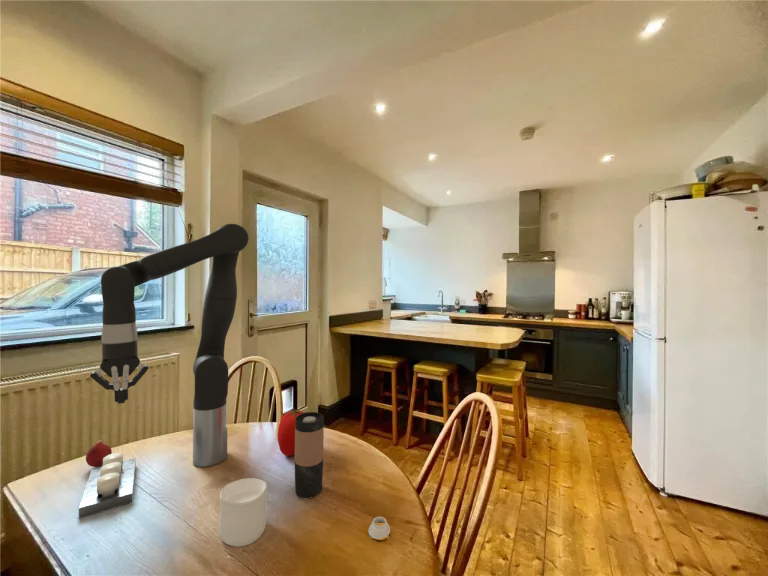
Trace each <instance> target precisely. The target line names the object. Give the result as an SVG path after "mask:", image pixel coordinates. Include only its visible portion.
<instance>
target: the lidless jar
mask: <svg viewBox="0 0 768 576" xmlns="http://www.w3.org/2000/svg"><path fill="white" fill-rule="evenodd" d="M375 523H385V524H384V525H381V526H379V525H376V524H375ZM390 530H391V527H390V524H389V523H388V522H387V519H386V518H385V517H383V516H376V517H374V518H373V520H372V522H371V523H370V525H369V527H368V533H369V534H368V536H369V535H370V536H371V537H372V538H375V539H381V538H384V537H387V535H389V533H390ZM370 536H369V537H370ZM371 537H370V538H371ZM372 538H371V539H372Z"/></svg>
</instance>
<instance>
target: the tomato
mask: <svg viewBox="0 0 768 576" xmlns="http://www.w3.org/2000/svg"><path fill="white" fill-rule="evenodd" d="M303 413H306V412H305V411H302V409H301V408H300V409H293V410H288V411H287V412H286V413H284V415H283V416H282V417H281V419H280V422H279V425H278V428H277V435H276V436H277V443H278V448H279V450H280V452H281V454H282V455H284V456H286V457H290V456H295V422H296V417H297V416H298V415H300V414H303Z"/></svg>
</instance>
